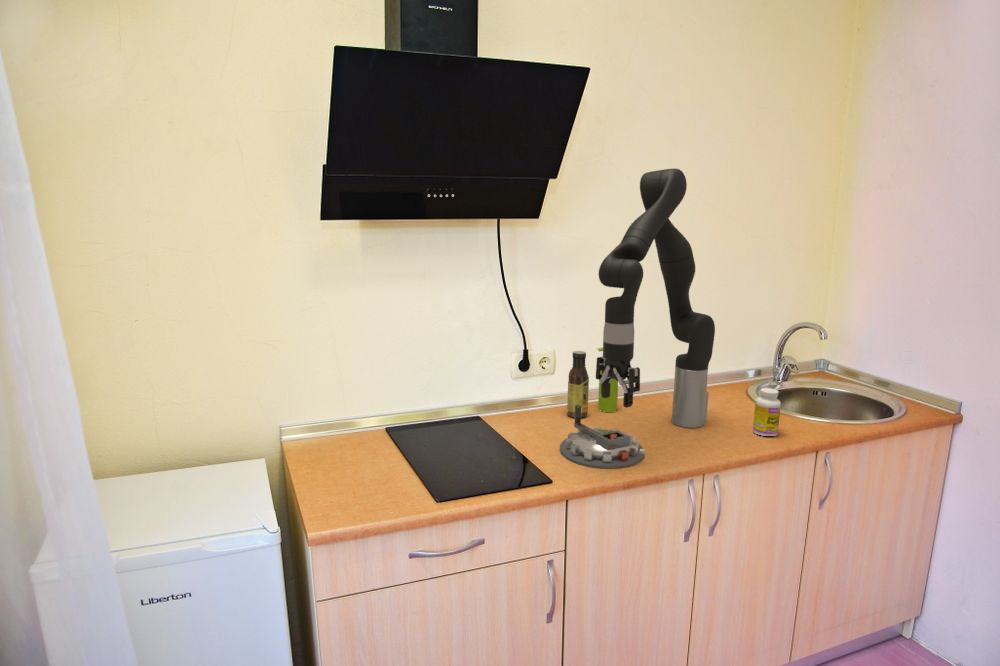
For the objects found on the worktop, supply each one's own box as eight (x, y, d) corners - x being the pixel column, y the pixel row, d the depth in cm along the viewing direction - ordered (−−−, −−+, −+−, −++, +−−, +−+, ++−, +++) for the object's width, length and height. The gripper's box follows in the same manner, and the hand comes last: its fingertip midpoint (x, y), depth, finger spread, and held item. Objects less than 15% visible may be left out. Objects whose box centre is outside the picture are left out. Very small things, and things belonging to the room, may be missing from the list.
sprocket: (602, 427, 185) (603, 400, 183) (653, 453, 167) (655, 423, 165) (547, 438, 176) (548, 410, 174) (595, 467, 158) (596, 436, 156)
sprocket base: (608, 430, 185) (608, 425, 185) (662, 458, 167) (662, 452, 166) (543, 444, 175) (544, 439, 175) (593, 475, 156) (594, 469, 156)
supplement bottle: (765, 439, 180) (769, 395, 177) (747, 431, 186) (751, 388, 183) (783, 435, 183) (787, 392, 180) (764, 428, 188) (769, 385, 186)
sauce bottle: (586, 419, 194) (589, 355, 190) (566, 418, 196) (567, 354, 191) (588, 412, 201) (590, 350, 196) (568, 411, 202) (570, 349, 198)
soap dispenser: (592, 406, 206) (595, 345, 202) (613, 406, 207) (616, 345, 202) (597, 413, 200) (600, 350, 196) (619, 412, 201) (622, 349, 197)
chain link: (617, 439, 171) (618, 430, 170) (629, 445, 167) (630, 436, 166) (595, 443, 168) (596, 434, 167) (607, 450, 163) (608, 441, 163)
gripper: (649, 343, 156) (647, 407, 159) (611, 332, 168) (610, 392, 172) (625, 347, 152) (623, 412, 156) (588, 335, 164) (587, 396, 168)
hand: (616, 402), depth 164 cm, fingers open, 8 cm apart
